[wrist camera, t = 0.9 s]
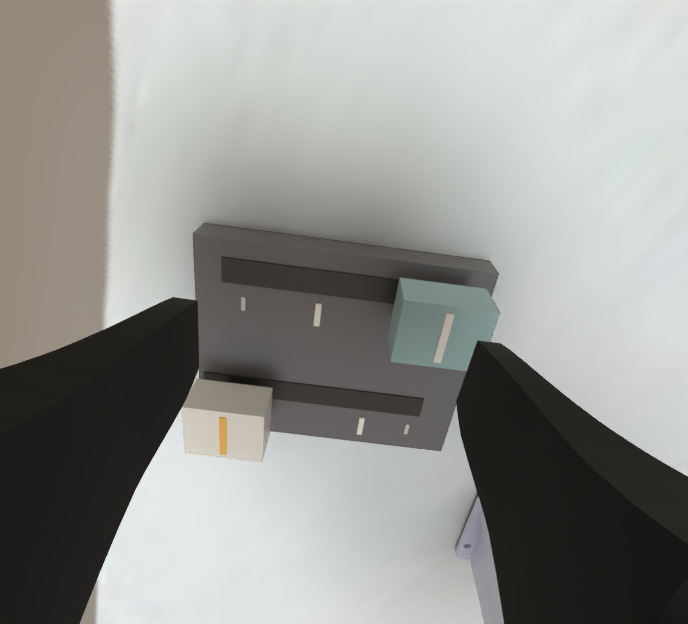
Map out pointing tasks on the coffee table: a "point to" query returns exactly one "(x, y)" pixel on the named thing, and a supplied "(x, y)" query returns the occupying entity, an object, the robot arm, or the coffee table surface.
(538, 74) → the coffee table surface
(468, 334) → the teal fader
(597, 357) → the coffee table surface
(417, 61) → the coffee table surface
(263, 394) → the cream fader
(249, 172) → the coffee table surface
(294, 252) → the mixer panel
